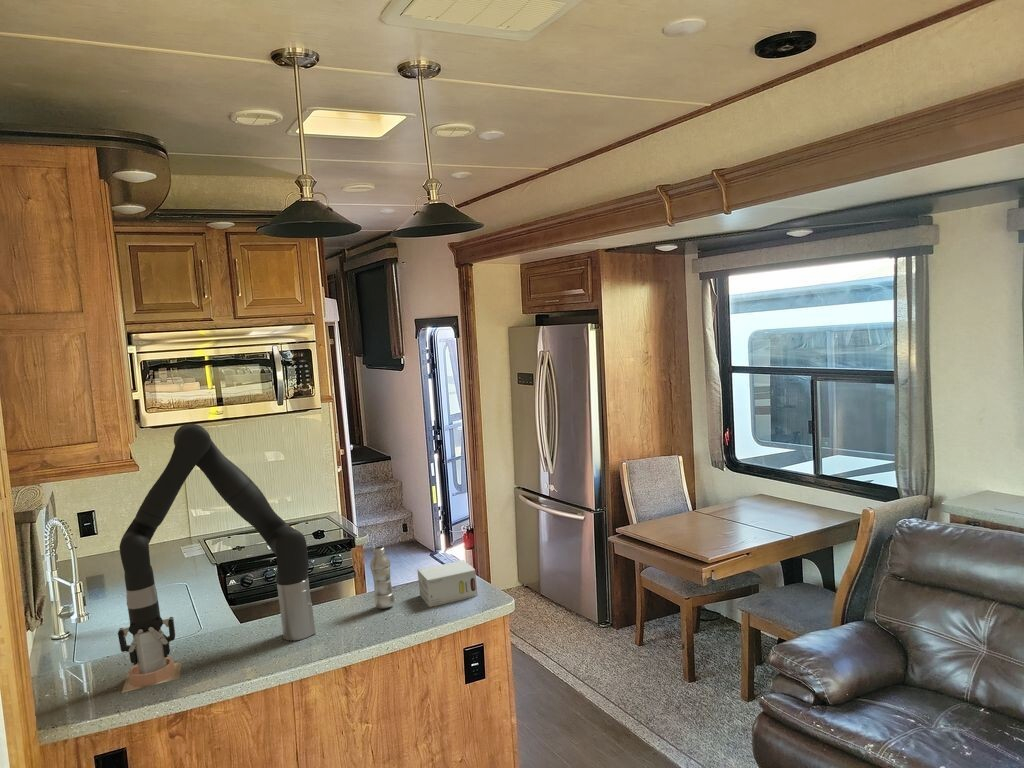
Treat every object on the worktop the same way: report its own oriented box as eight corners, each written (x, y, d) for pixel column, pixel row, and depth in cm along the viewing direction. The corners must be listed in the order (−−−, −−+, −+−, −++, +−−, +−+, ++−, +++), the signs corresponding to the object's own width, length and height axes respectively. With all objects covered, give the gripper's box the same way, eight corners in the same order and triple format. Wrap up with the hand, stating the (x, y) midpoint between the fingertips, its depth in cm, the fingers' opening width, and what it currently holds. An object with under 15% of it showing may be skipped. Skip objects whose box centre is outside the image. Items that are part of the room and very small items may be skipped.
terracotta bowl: (175, 663, 204) (174, 653, 204) (173, 679, 194) (171, 668, 194) (133, 673, 200) (131, 663, 200) (128, 690, 190) (126, 679, 190)
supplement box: (429, 608, 229) (426, 579, 229) (419, 595, 242) (416, 569, 241) (478, 596, 236) (475, 568, 235) (466, 585, 248) (463, 558, 247)
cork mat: (181, 662, 206) (181, 661, 206) (179, 679, 194) (179, 678, 194) (127, 675, 200) (127, 674, 200) (121, 694, 189) (121, 692, 189)
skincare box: (160, 665, 201) (154, 624, 200) (167, 668, 198) (161, 627, 197) (138, 674, 196) (131, 632, 196) (144, 678, 194) (138, 635, 193)
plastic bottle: (397, 608, 232) (390, 548, 231) (376, 612, 229) (370, 552, 228) (393, 601, 238) (386, 543, 237) (373, 606, 235) (366, 547, 234)
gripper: (172, 592, 202) (180, 648, 203) (115, 604, 197) (123, 661, 198) (170, 600, 195) (178, 658, 196) (111, 613, 190) (120, 672, 191)
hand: (151, 659), depth 197 cm, fingers closed on skincare box, 7 cm apart
